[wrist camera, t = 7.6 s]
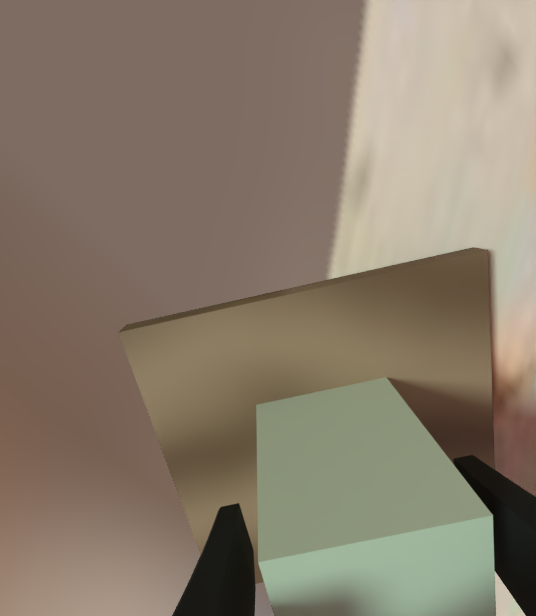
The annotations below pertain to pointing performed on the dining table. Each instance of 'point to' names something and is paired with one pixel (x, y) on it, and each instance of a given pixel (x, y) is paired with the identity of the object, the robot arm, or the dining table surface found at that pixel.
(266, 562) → the sage block
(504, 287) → the dining table surface
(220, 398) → the walnut base board
